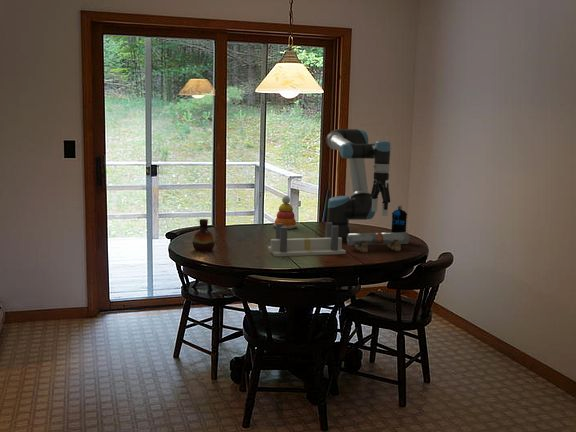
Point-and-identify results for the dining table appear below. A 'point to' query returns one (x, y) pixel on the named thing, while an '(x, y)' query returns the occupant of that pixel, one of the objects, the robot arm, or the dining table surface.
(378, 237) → the tube
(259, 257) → the dining table surface
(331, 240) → the white cradle stand
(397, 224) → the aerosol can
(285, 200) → the stacking toy
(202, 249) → the vase
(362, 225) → the dining table surface
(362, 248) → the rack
